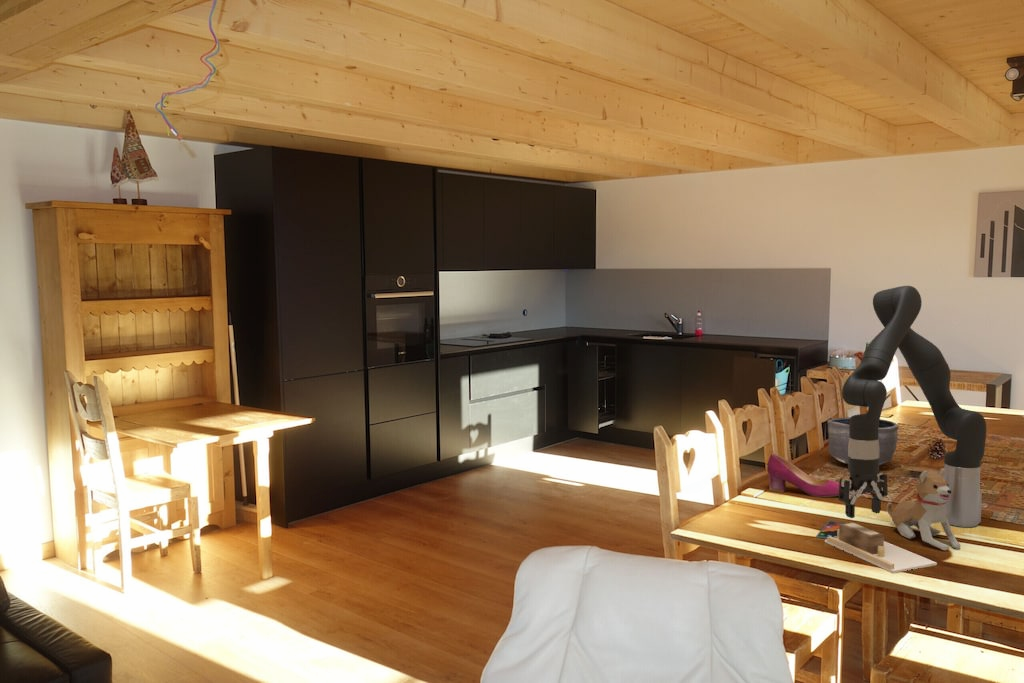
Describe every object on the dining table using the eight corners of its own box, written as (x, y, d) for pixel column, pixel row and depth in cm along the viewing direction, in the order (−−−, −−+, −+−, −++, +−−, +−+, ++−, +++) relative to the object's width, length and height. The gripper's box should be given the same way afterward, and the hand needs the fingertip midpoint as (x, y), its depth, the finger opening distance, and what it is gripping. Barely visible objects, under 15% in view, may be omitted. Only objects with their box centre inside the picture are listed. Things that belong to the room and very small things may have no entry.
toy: (937, 552, 211) (939, 478, 209) (872, 524, 233) (874, 457, 231) (968, 548, 213) (971, 474, 211) (901, 521, 236) (903, 454, 234)
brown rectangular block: (839, 541, 218) (839, 523, 218) (852, 539, 220) (852, 521, 219) (869, 555, 208) (870, 536, 208) (883, 552, 210) (883, 533, 209)
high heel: (851, 494, 264) (851, 457, 263) (847, 501, 257) (848, 463, 255) (770, 484, 277) (771, 449, 276) (765, 491, 270) (765, 455, 268)
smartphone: (815, 535, 224) (829, 519, 236) (815, 540, 224) (829, 524, 236) (846, 540, 219) (859, 523, 231) (846, 545, 219) (859, 528, 231)
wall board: (865, 535, 225) (865, 524, 224) (936, 565, 202) (937, 553, 202) (824, 542, 220) (824, 530, 220) (893, 573, 197) (893, 561, 197)
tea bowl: (908, 462, 300) (906, 416, 299) (889, 475, 284) (887, 427, 283) (840, 457, 317) (837, 413, 316) (818, 469, 300) (816, 423, 299)
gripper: (873, 448, 217) (873, 507, 219) (831, 455, 212) (831, 514, 214) (895, 454, 210) (895, 515, 212) (852, 461, 205) (852, 523, 207)
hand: (863, 514), depth 213 cm, fingers open, 8 cm apart
